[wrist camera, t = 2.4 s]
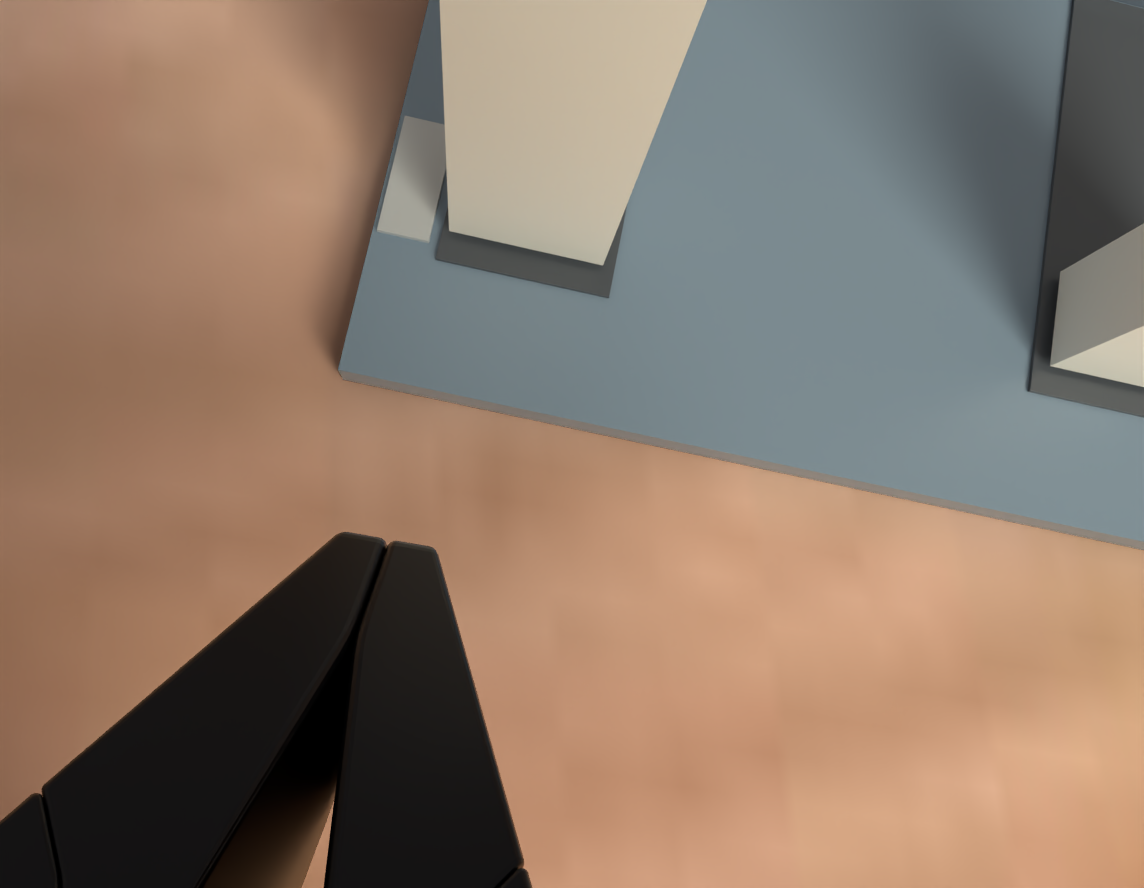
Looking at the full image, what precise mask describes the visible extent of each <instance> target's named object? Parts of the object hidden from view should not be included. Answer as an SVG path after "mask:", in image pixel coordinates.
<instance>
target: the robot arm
mask: <svg viewBox="0 0 1144 888" xmlns="http://www.w3.org/2000/svg"><path fill="white" fill-rule="evenodd" d="M42 796H43V797H42ZM333 801H334V807H333V815H332V823H331V831H330V840H329V848H328V856H327V865H326V873H325V881H324V888H532V885H531V882H530V878H529V875H528V872H527V870H525V869H523V866H524V859H523V855H522V851H521V848H520V844H519V841H518V837H517V834H516V830H515V827H514V823H513V819H512V816H511V812H510V809H509V805H508V802H507V798H506V795H505V791H504V787H503V784H502V780H501V777H500V773H499V770H498V766H497V763H496V759H495V755H494V752H493V748H492V745H491V741H490V738H489V734H488V731H487V727H486V723H485V720H484V716H483V713H482V709H481V706H480V702H479V699H478V695H477V691H476V688H475V684H474V681H473V677H472V674H471V670H470V667H469V663H468V659H467V656H466V652H465V649H464V645H463V642H462V638H461V634H460V631H459V627H458V624H457V620H456V617H455V613H454V610H453V606H452V602H451V599H450V595H449V592H448V588H447V585H446V581H445V578H444V574H443V570H442V567H441V563H440V560H439V556H438V554H437V552H436V550H435V549H433V548H432V547H429V546H424V545H418V544H413V543H407V542H401V541H393V542H391V543H390V544H389V545H388V546H387V545H386V542H385V541H384V540H383V539H382V538H378V537H373V536H367V535H361V534H356V533H350V532H342V533H339V534H337V535H335V536H334V537H333V538H332V539H331V540H329V541H328V542H327V543H326V544H325V545H324V546H322V547H321V548H320V549H319V550H318V551H317V552H315V553H314V554H313V555H312V556H311V557H310V558H308V559H307V560H306V561H305V562H304V563H303V564H301V565H300V566H299V567H298V568H297V569H296V570H294V571H293V572H292V573H291V574H290V575H289V576H287V577H286V578H285V579H284V580H283V581H282V582H280V583H279V584H278V585H277V586H276V587H275V588H273V589H272V590H271V591H270V592H269V593H268V594H266V595H265V596H264V597H263V598H262V599H261V600H259V601H258V602H257V603H256V604H255V605H254V606H252V607H251V608H250V609H249V610H248V611H246V612H245V613H244V614H243V615H242V616H241V617H239V618H238V619H237V620H236V621H235V622H234V623H232V624H231V625H230V626H229V627H228V628H227V629H225V630H224V631H223V632H222V633H221V634H220V635H218V636H217V637H216V638H215V639H214V640H213V641H211V642H210V643H209V644H208V645H207V646H206V647H204V648H203V649H202V650H201V651H200V652H199V653H197V654H196V655H195V656H194V657H193V658H192V659H190V660H189V661H188V662H187V663H186V664H185V665H183V666H182V667H181V668H180V669H179V670H178V671H176V672H175V673H174V674H173V675H172V676H171V677H169V678H168V679H167V680H166V681H165V682H164V683H162V684H161V685H160V686H159V687H158V688H157V689H155V690H154V691H153V692H152V693H151V694H149V695H148V696H147V697H146V698H145V699H144V700H142V701H141V702H140V703H139V704H138V705H137V706H135V707H134V708H133V709H132V710H131V711H130V712H128V713H127V714H126V715H125V716H124V717H123V718H121V719H120V720H119V721H118V722H117V723H116V724H114V725H113V726H112V727H111V728H110V729H109V730H107V731H106V732H105V733H104V734H103V735H102V736H100V737H99V738H98V739H97V740H96V741H95V742H93V743H92V744H91V745H90V746H89V747H88V748H86V749H85V750H84V751H83V752H82V753H80V754H79V755H78V756H77V757H76V758H75V759H73V760H72V761H71V762H70V763H69V764H68V765H66V766H65V767H64V768H63V769H62V770H61V771H59V772H58V773H57V774H56V775H55V776H54V777H52V778H51V779H50V780H49V781H48V782H47V783H45V784H44V785H43V787H42V795H41V794H38V793H34V794H32V795H30V796H29V797H28V798H27V799H26V800H25V801H24V802H22V803H21V804H20V805H19V806H18V807H17V808H15V809H14V810H13V811H12V812H11V813H10V814H9V815H7V816H6V817H5V818H4V819H3V820H2V821H0V888H301V887H302V885H303V882H304V879H305V877H306V874H307V871H308V869H309V866H310V863H311V861H312V858H313V855H314V853H315V850H316V847H317V845H318V842H319V839H320V837H321V834H322V831H323V829H324V826H325V823H326V821H327V818H328V815H329V813H330V810H331V807H332V804H333Z"/></svg>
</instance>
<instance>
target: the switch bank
mask: <svg viewBox="0 0 1144 888" xmlns="http://www.w3.org/2000/svg"><path fill="white" fill-rule="evenodd" d="M1142 224H1144V0H707V2H706V4H705V7H704V10H703V12H702V15H701V17H700V20H699V22H698V25H697V27H696V30H695V32H694V35H693V38H692V40H691V43H690V45H689V48H688V50H687V53H686V55H685V58H684V60H683V63H682V66H681V68H680V71H679V73H678V76H677V78H676V81H675V83H674V86H673V88H672V91H671V94H670V96H669V99H668V101H667V104H666V106H665V109H664V111H663V114H662V117H661V119H660V122H659V124H658V127H657V129H656V132H655V134H654V137H653V139H652V142H651V145H650V147H649V150H648V152H647V155H646V157H645V160H644V162H643V165H642V167H641V170H640V173H639V175H638V178H637V180H636V183H635V185H634V188H633V190H632V193H631V195H630V198H629V201H628V203H627V206H626V208H625V211H624V213H623V216H622V218H621V221H620V223H619V226H618V229H617V231H616V234H615V236H614V239H613V241H612V244H611V246H610V249H609V251H608V254H607V257H606V259H605V262H604V264H603V265H598V264H594V263H589V262H585V261H580V260H576V259H572V258H567V257H563V256H558V255H554V254H549V253H545V252H540V251H536V250H532V249H527V248H523V247H518V246H514V245H509V244H505V243H500V242H496V241H491V240H487V239H483V238H478V237H474V236H469V235H465V234H460V233H456V232H451V231H449V216H448V192H447V168H446V144H445V120H444V96H443V72H442V48H441V23H440V0H429V2H428V6H427V10H426V14H425V18H424V23H423V27H422V31H421V35H420V39H419V43H418V47H417V51H416V55H415V59H414V63H413V67H412V71H411V75H410V79H409V83H408V88H407V92H406V96H405V100H404V104H403V108H402V112H401V116H400V120H399V124H398V128H397V132H396V136H395V140H394V144H393V148H392V152H391V157H390V161H389V165H388V169H387V173H386V177H385V181H384V185H383V189H382V193H381V197H380V201H379V205H378V209H377V213H376V217H375V222H374V226H373V230H372V234H371V238H370V242H369V246H368V250H367V254H366V258H365V262H364V266H363V270H362V274H361V278H360V282H359V286H358V291H357V295H356V299H355V303H354V307H353V311H352V315H351V319H350V323H349V327H348V331H347V335H346V339H345V343H344V347H343V351H342V356H341V360H340V364H339V368H338V371H339V373H340V375H341V377H342V378H343V380H347V381H352V382H357V383H362V384H366V385H371V386H376V387H380V388H385V389H390V390H394V391H399V392H404V393H408V394H413V395H418V396H423V397H427V398H432V399H437V400H441V401H446V402H451V403H455V404H460V405H465V406H470V407H474V408H479V409H484V410H488V411H493V412H498V413H502V414H507V415H512V416H516V417H521V418H526V419H531V420H535V421H540V422H545V423H549V424H554V425H559V426H563V427H568V428H573V429H577V430H582V431H587V432H592V433H596V434H601V435H606V436H610V437H615V438H620V439H624V440H629V441H634V442H639V443H643V444H648V445H653V446H657V447H662V448H667V449H671V450H676V451H681V452H685V453H690V454H695V455H700V456H704V457H709V458H714V459H718V460H723V461H728V462H732V463H737V464H742V465H747V466H751V467H756V468H761V469H765V470H770V471H775V472H779V473H784V474H789V475H793V476H798V477H803V478H808V479H812V480H817V481H822V482H826V483H831V484H836V485H840V486H845V487H850V488H854V489H859V490H864V491H869V492H873V493H878V494H883V495H887V496H892V497H897V498H901V499H906V500H911V501H916V502H920V503H925V504H930V505H934V506H939V507H944V508H948V509H953V510H958V511H962V512H967V513H972V514H977V515H981V516H986V517H991V518H995V519H1000V520H1005V521H1009V522H1014V523H1019V524H1024V525H1028V526H1033V527H1038V528H1042V529H1047V530H1052V531H1056V532H1061V533H1066V534H1070V535H1075V536H1080V537H1085V538H1089V539H1094V540H1099V541H1103V542H1108V543H1113V544H1117V545H1122V546H1127V547H1131V548H1136V549H1141V550H1144V387H1141V386H1137V385H1132V384H1128V383H1123V382H1119V381H1114V380H1110V379H1106V378H1101V377H1097V376H1092V375H1088V374H1083V373H1079V372H1074V371H1070V370H1065V369H1061V368H1057V367H1052V366H1050V361H1051V352H1052V343H1053V333H1054V324H1055V315H1056V306H1057V297H1058V288H1059V279H1060V272H1061V271H1063V270H1064V269H1066V268H1068V267H1069V266H1071V265H1073V264H1075V263H1076V262H1078V261H1080V260H1081V259H1083V258H1085V257H1087V256H1088V255H1090V254H1092V253H1094V252H1095V251H1097V250H1099V249H1100V248H1102V247H1104V246H1106V245H1107V244H1109V243H1111V242H1113V241H1114V240H1116V239H1118V238H1119V237H1121V236H1123V235H1125V234H1126V233H1128V232H1130V231H1132V230H1133V229H1135V228H1137V227H1138V226H1140V225H1142Z"/></svg>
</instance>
